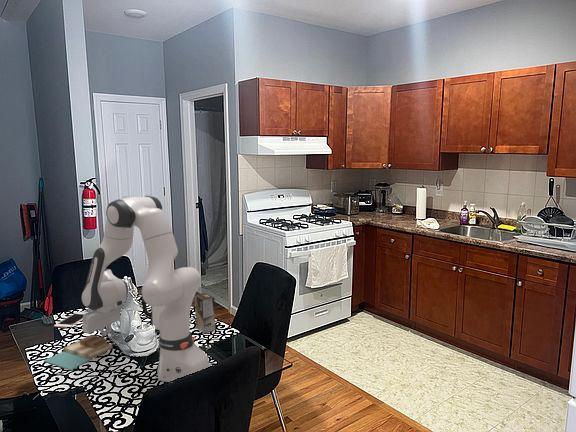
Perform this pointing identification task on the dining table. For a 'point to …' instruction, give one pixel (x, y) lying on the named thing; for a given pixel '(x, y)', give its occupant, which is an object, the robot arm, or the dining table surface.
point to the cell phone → (71, 320)
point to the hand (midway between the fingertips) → (105, 335)
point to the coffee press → (153, 313)
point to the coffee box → (205, 312)
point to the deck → (87, 350)
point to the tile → (92, 341)
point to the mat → (66, 360)
